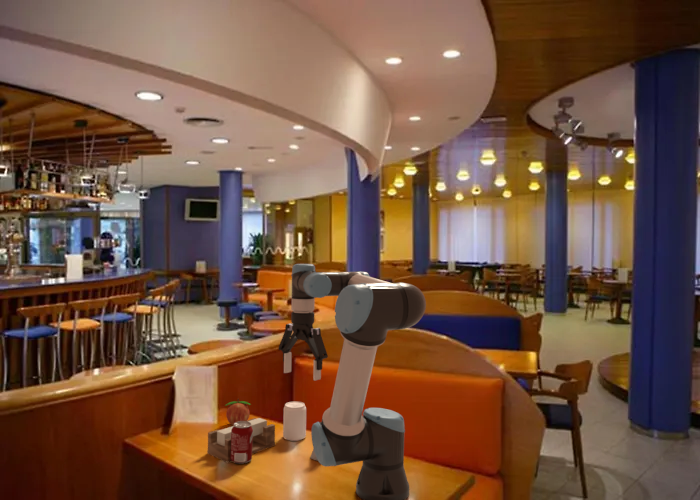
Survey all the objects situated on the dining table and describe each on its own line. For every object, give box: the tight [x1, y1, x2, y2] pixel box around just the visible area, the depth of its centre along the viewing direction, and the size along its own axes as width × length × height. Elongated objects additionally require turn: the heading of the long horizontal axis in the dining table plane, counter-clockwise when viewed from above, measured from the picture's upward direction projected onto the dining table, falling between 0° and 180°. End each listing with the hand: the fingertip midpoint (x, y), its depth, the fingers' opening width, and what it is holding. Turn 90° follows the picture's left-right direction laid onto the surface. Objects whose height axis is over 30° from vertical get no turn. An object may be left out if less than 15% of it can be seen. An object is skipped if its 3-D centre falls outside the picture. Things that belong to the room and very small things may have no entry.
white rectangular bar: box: [217, 417, 268, 446], centre depth 187 cm, size 18×4×4 cm, turn 140°
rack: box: [206, 417, 276, 464], centre depth 187 cm, size 20×11×7 cm, turn 140°
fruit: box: [224, 398, 252, 426], centre depth 211 cm, size 9×10×10 cm
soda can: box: [230, 420, 253, 465], centre depth 177 cm, size 7×7×12 cm
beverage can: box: [282, 401, 307, 442], centre depth 199 cm, size 8×8×12 cm
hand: (301, 376), depth 181 cm, fingers open, 13 cm apart
